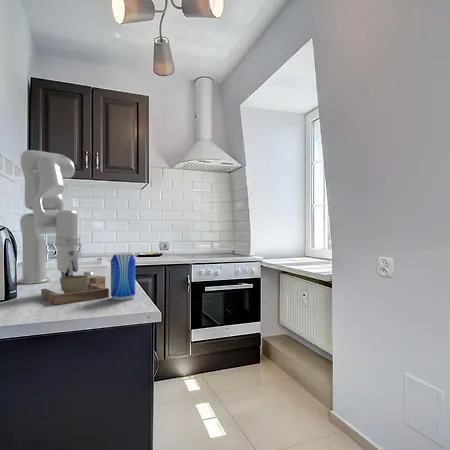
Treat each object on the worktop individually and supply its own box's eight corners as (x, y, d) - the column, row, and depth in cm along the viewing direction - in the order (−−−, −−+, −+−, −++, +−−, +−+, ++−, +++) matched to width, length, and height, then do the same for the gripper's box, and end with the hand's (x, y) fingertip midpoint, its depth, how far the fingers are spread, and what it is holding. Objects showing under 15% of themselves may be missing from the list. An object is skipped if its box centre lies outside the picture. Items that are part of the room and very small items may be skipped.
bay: (41, 297, 119) (41, 289, 119) (91, 290, 131) (91, 283, 132) (54, 305, 108) (54, 296, 108) (108, 296, 120) (108, 288, 120)
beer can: (110, 296, 121) (110, 253, 121) (134, 295, 124) (134, 252, 124) (111, 301, 113) (111, 254, 113) (136, 299, 116) (136, 254, 116)
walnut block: (86, 289, 135) (86, 277, 135) (96, 287, 139) (96, 275, 139) (95, 290, 132) (95, 278, 132) (105, 288, 137) (105, 276, 137)
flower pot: (80, 292, 127) (80, 274, 127) (94, 296, 121) (95, 276, 121) (54, 297, 120) (54, 277, 120) (68, 301, 113) (68, 280, 113)
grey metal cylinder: (82, 286, 142) (82, 272, 142) (91, 285, 144) (91, 271, 144) (85, 287, 139) (85, 273, 139) (95, 286, 141) (95, 272, 141)
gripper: (84, 242, 123) (83, 291, 123) (70, 241, 134) (70, 286, 134) (62, 243, 118) (62, 294, 118) (50, 241, 129) (50, 288, 129)
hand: (66, 290), depth 126 cm, fingers closed
